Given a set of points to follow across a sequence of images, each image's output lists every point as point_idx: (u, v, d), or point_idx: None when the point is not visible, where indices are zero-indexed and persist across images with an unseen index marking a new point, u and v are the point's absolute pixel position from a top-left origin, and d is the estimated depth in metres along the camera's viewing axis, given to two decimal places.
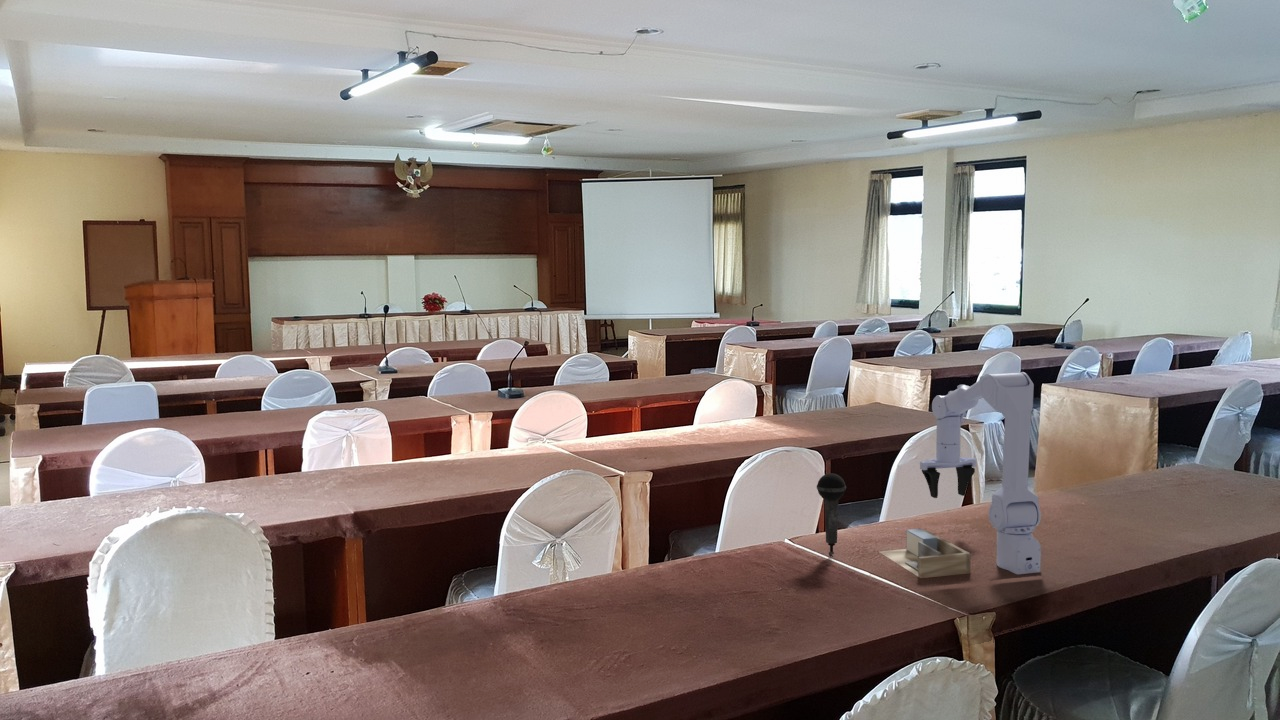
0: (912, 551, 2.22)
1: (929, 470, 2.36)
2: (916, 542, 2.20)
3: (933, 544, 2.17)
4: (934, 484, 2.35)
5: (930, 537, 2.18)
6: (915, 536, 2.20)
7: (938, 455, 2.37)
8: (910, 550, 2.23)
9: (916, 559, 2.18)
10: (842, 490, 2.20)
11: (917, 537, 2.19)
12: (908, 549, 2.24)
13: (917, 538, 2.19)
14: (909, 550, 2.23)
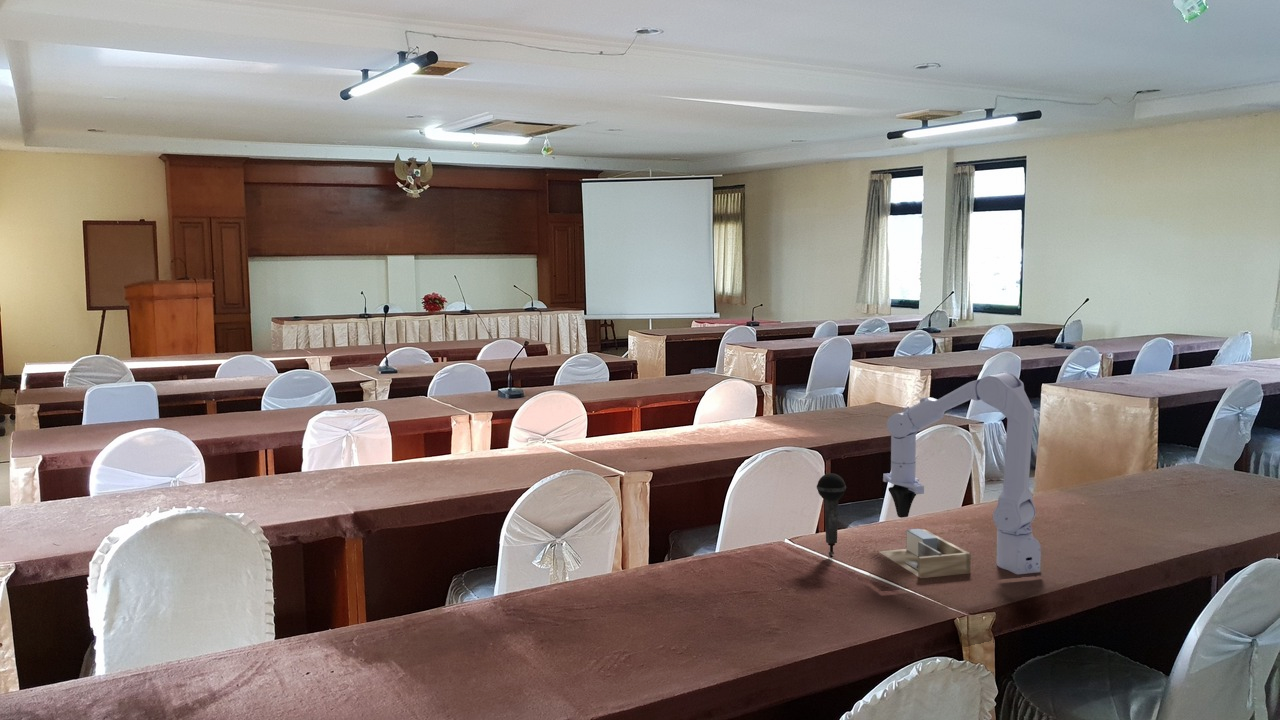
0: (912, 551, 2.22)
1: (894, 486, 2.31)
2: (916, 542, 2.20)
3: (933, 544, 2.17)
4: (894, 501, 2.30)
5: (930, 537, 2.18)
6: (915, 536, 2.20)
7: None
8: (910, 550, 2.23)
9: (916, 559, 2.18)
10: (842, 490, 2.20)
11: (917, 537, 2.19)
12: (908, 549, 2.24)
13: (917, 538, 2.19)
14: (909, 550, 2.23)
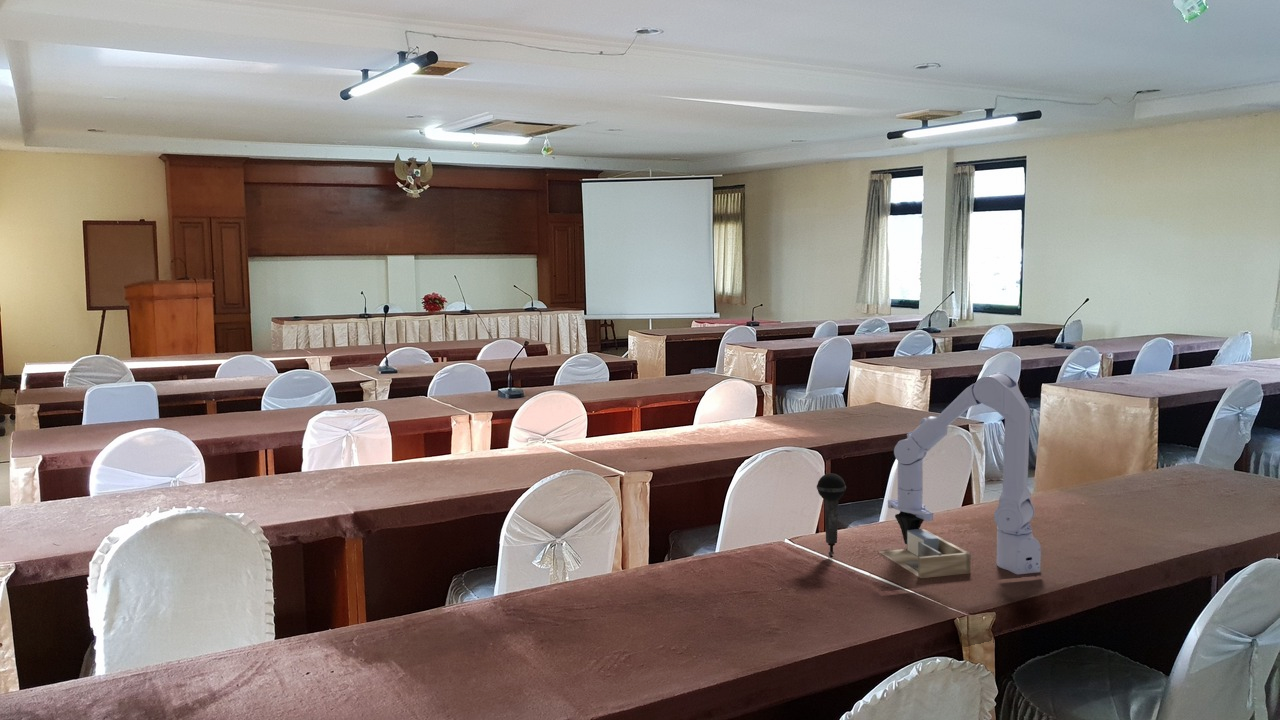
0: (913, 552, 2.22)
1: (901, 513, 2.28)
2: (917, 543, 2.19)
3: (934, 544, 2.17)
4: (901, 528, 2.27)
5: (931, 538, 2.17)
6: (916, 536, 2.20)
7: None
8: (911, 550, 2.23)
9: (916, 559, 2.18)
10: (842, 490, 2.20)
11: (918, 537, 2.19)
12: (909, 549, 2.23)
13: (918, 539, 2.19)
14: (910, 550, 2.23)
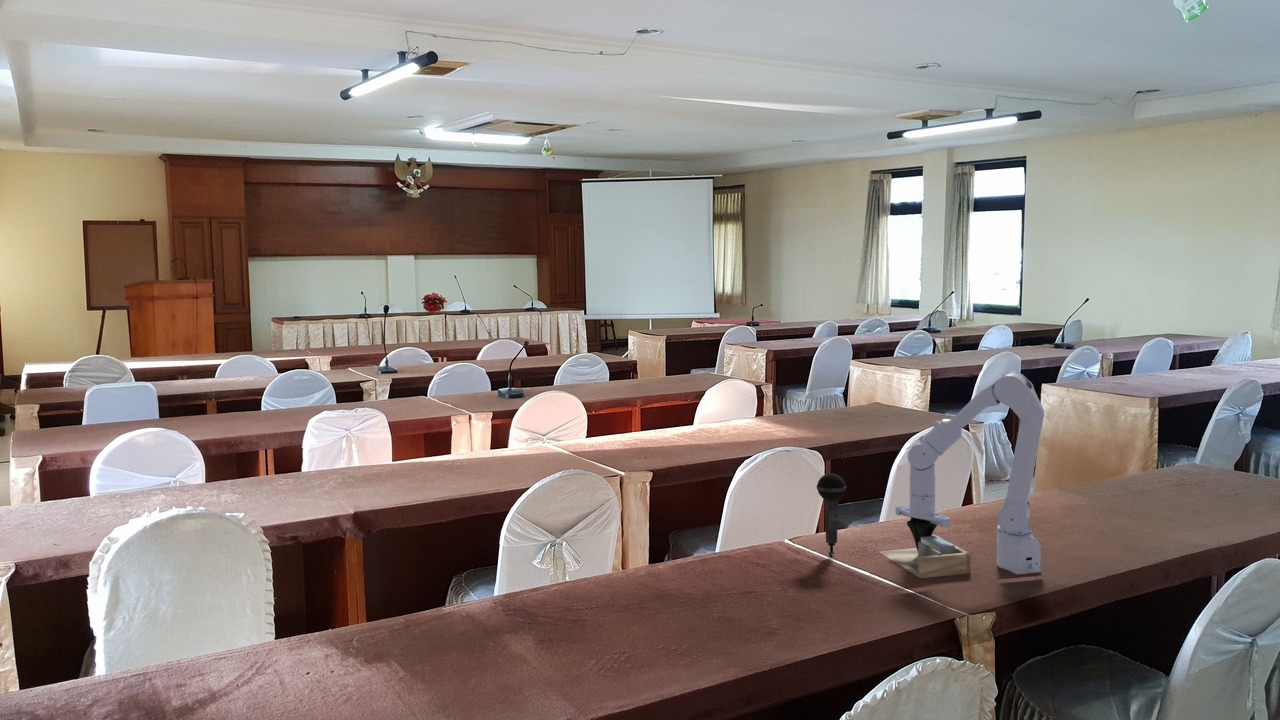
0: None
1: (912, 519, 2.22)
2: None
3: (950, 552, 2.11)
4: (913, 535, 2.21)
5: (947, 545, 2.12)
6: (931, 544, 2.14)
7: None
8: None
9: (916, 559, 2.18)
10: (842, 490, 2.20)
11: (934, 545, 2.13)
12: None
13: (934, 546, 2.13)
14: None
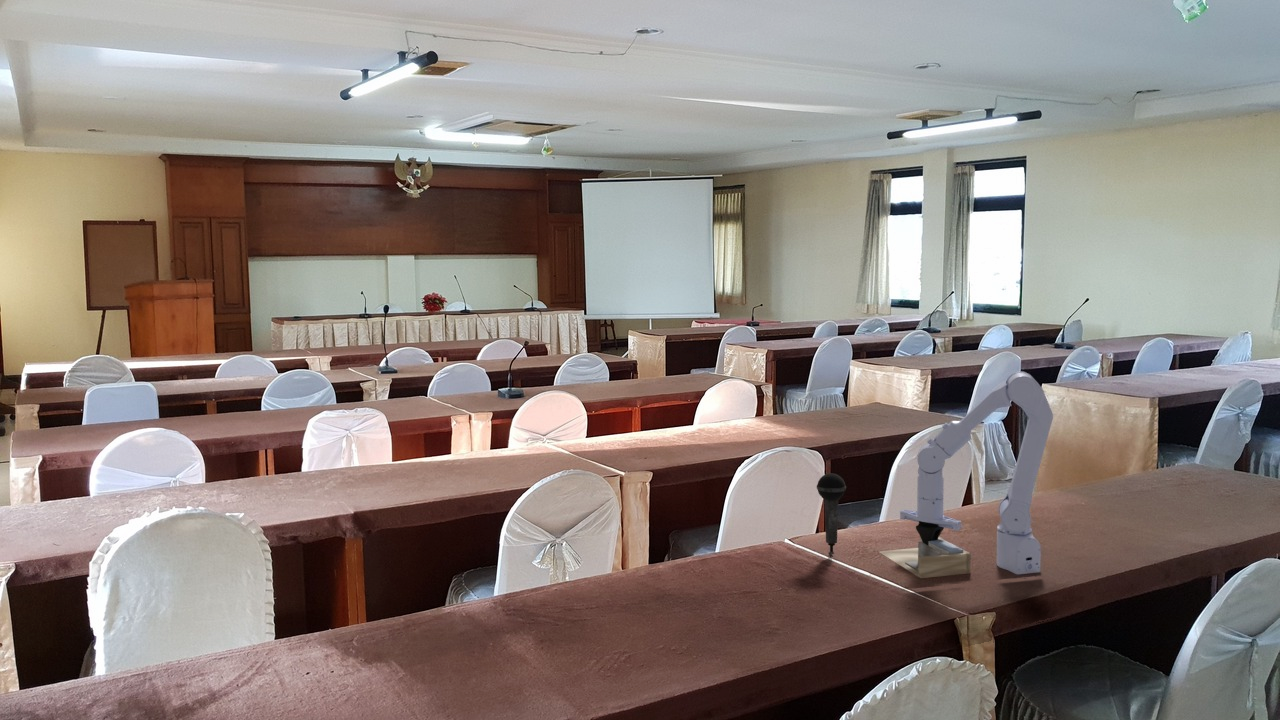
0: None
1: (920, 524, 2.18)
2: (941, 554, 2.10)
3: None
4: (922, 540, 2.17)
5: (956, 549, 2.08)
6: (939, 548, 2.11)
7: None
8: None
9: (916, 559, 2.18)
10: (842, 490, 2.20)
11: (942, 549, 2.10)
12: None
13: (942, 550, 2.10)
14: None
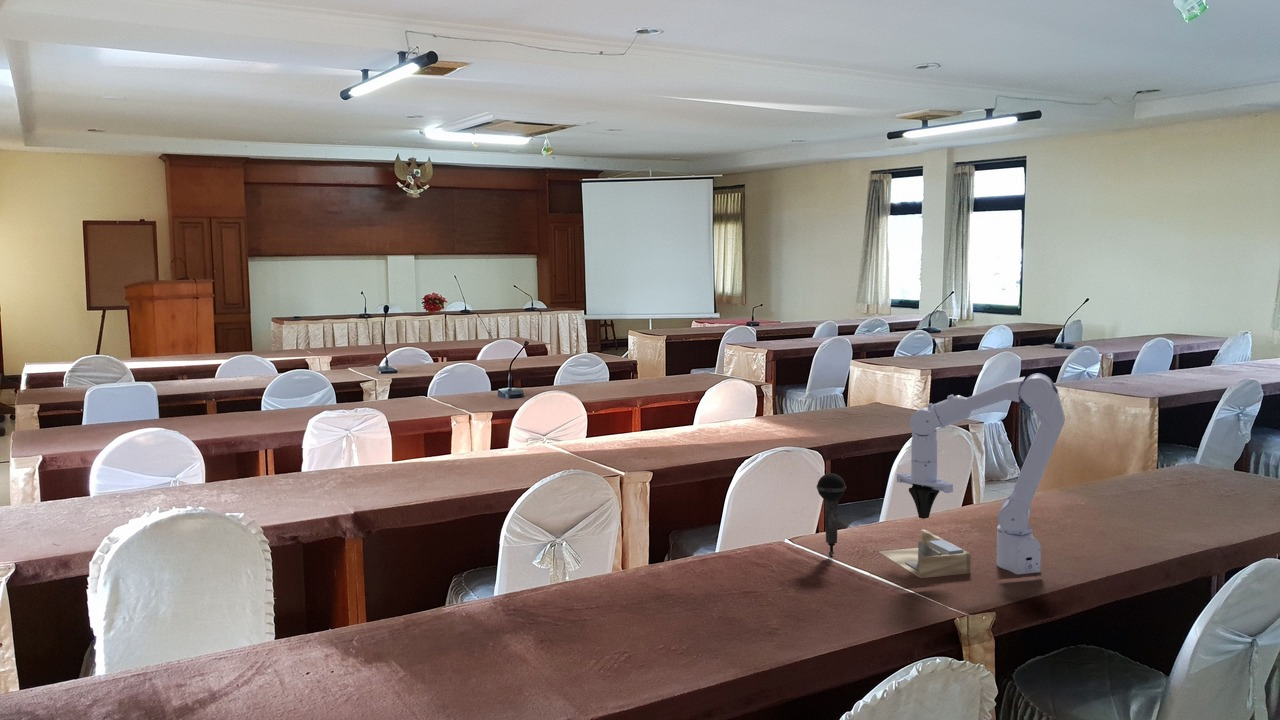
0: None
1: (914, 486, 2.20)
2: (941, 554, 2.10)
3: None
4: (915, 502, 2.19)
5: (956, 549, 2.08)
6: (939, 548, 2.11)
7: None
8: None
9: (916, 559, 2.18)
10: (842, 490, 2.20)
11: (942, 549, 2.10)
12: None
13: (942, 551, 2.10)
14: None
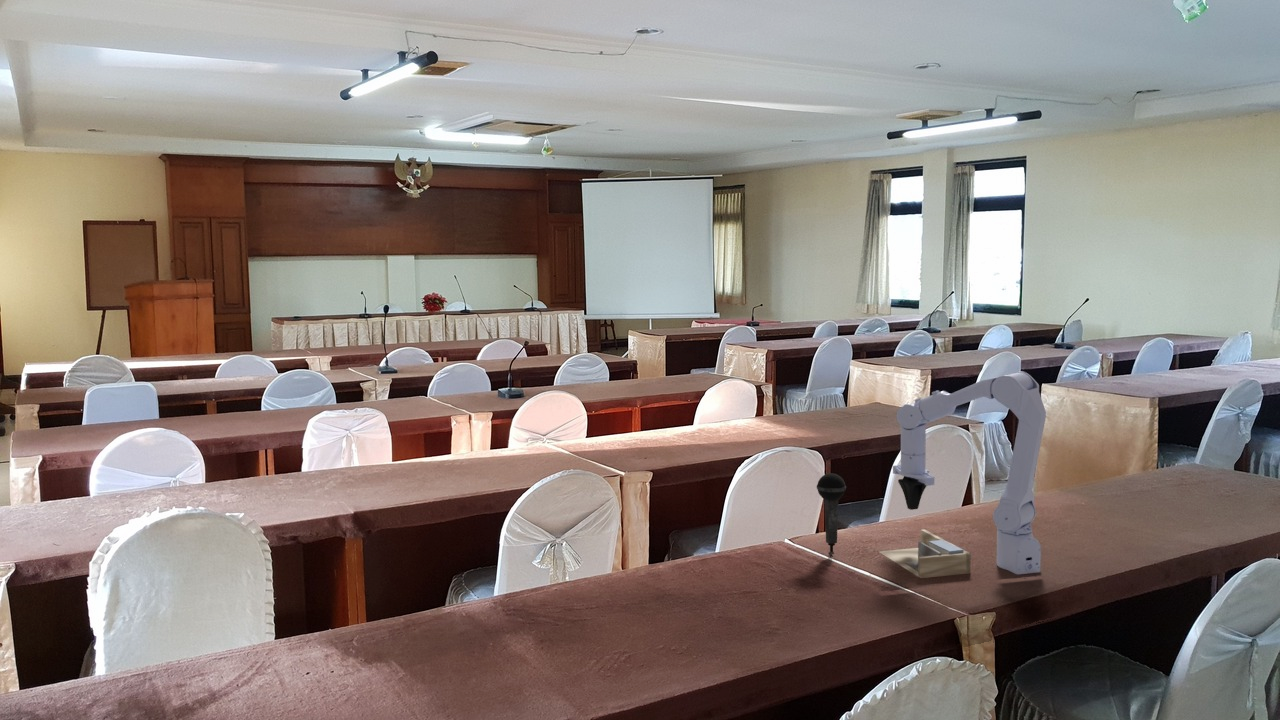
0: None
1: (904, 478, 2.29)
2: (941, 554, 2.10)
3: None
4: (904, 493, 2.28)
5: (956, 549, 2.08)
6: (939, 548, 2.11)
7: None
8: None
9: (916, 559, 2.18)
10: (842, 490, 2.20)
11: (942, 549, 2.10)
12: None
13: (942, 551, 2.10)
14: None
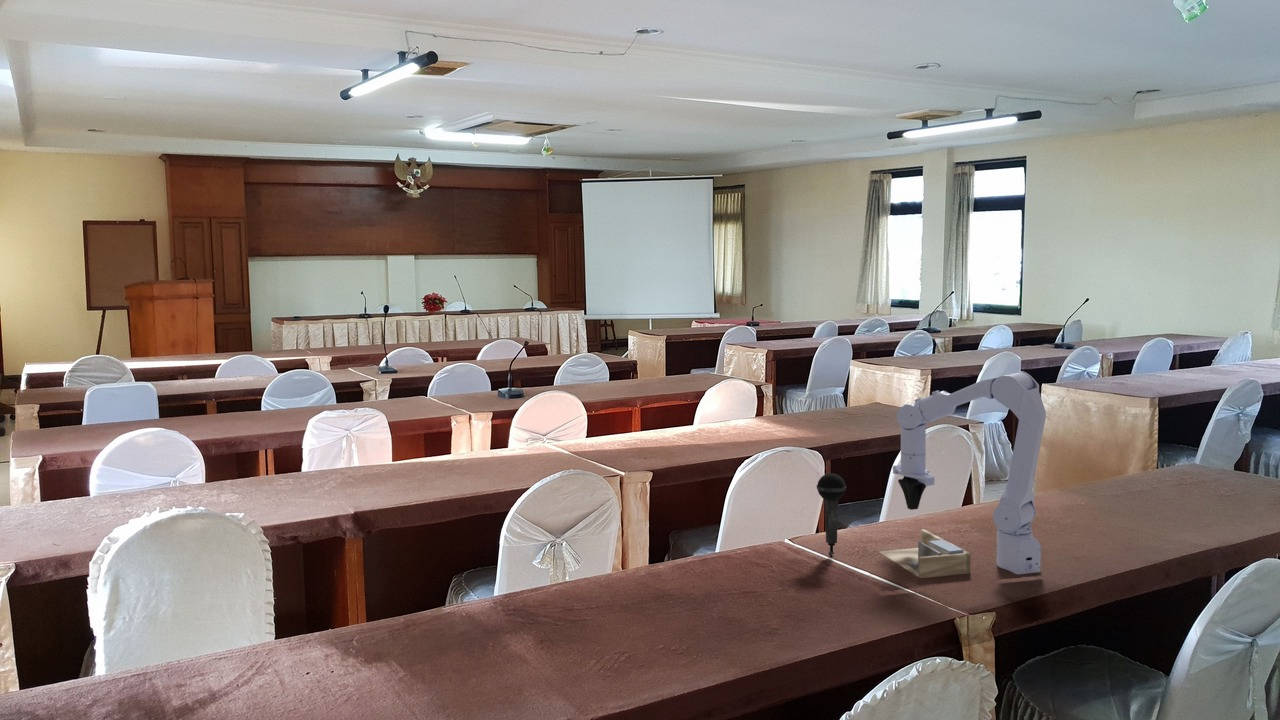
0: None
1: (904, 478, 2.29)
2: (941, 554, 2.10)
3: None
4: (904, 493, 2.28)
5: (956, 549, 2.08)
6: (939, 548, 2.11)
7: None
8: None
9: (916, 559, 2.18)
10: (842, 490, 2.20)
11: (942, 549, 2.10)
12: None
13: (942, 551, 2.10)
14: None
